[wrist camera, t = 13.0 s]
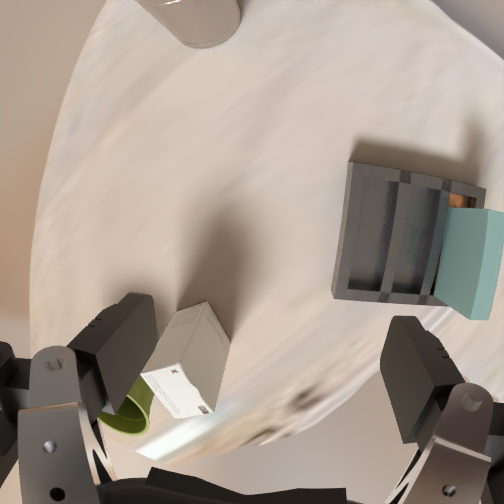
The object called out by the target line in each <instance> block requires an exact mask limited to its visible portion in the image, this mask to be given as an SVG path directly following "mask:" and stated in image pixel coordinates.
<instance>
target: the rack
mask: <svg viewBox="0 0 504 504" xmlns="http://www.w3.org/2000/svg"><path fill="white" fill-rule="evenodd" d="M485 194H486V189H484V188H480V187H476V186H473V185H469V184H464V183H460V182H456V181H452V180H447V179H443V178H438V177H434V176H429V175H424V174H419V173H414V172H409V171H404V170H398V169H393V168H387V167H381V166H375V165H368V164H362V163H355V162H348V169H347V179H346V189H345V198H344V206H343V214H342V222H341V229H340V236H339V243H338V250H337V256H336V263H335V269H334V275H333V281H332V287H331V291H332V294H333V298H334V299H342V300H354V301H367V302H381V303H396V304H412V305H430V306H448V305H447V304H445V303H444V302H442V301H441V300H439V299H438V298H436V297H435V296H434V291H435V286H436V280H437V275H438V269H439V263H440V257H441V250H442V243H443V235H444V230H445V224H446V219H447V213H448V207H451V208H477V209H483V207H484V201H485Z"/></svg>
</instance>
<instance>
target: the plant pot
mask: <svg viewBox="0 0 504 504" xmlns="http://www.w3.org/2000/svg"><path fill="white" fill-rule="evenodd" d="M153 396H154V392H153V391H152V389H151V388H150V387H149V386H148V384H147V383H146V382H145V380H144V379H143V378H142V376H141V375H139V376H138V378H137V380H136V381H135V383H134V385H133V386H132V388H131V389H130V391H129V393H128V394H127V396H126V398H125V399H124V401H123V403H122V404H121V406H120V408H119V409H118V411H117V413H116V414H115V415H113V414H109V413H106V412H103V411H101V413H100V414H99V416H98V419H99V421H101V422H102V423H103V424H105V425H106V426H108V427H109V428H111V429H113V430H115V431H117V432H120V433H123V434H126V435H141V434H144V433H145V432H147V430H148V429H149V424H150V423H149V414H150V406H151V403H152V399H153Z"/></svg>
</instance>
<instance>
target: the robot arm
mask: <svg viewBox="0 0 504 504" xmlns="http://www.w3.org/2000/svg"><path fill="white" fill-rule="evenodd" d="M135 1H136V2H138V3H139V4H140V5H141V6H142V7H143V8H145V9H146V10H147V11H148V12H149V13H150V14H151V15H152V16H154V17H155V18H156V19H157V20H158V21H159V22H160V23H161V24H162V25H163V26H165V27H166V28H167V29H168V30H169V31H170V32H171V33H172V34H173V35H174V36H175V37H176V38H177V39H178V40H179V41H181V42H182V43H183V44H185V45H187V46H189V47H193V48H210V47H213V46H217V45H219V44H221V43H223V42H225V41H226V40H227V39H229V38H230V37H231V36H232V35H233V34H234V33H235V31H236V30H237V28H238V26H239V24H240V20H241V13H240V9H239V6H238V4H237V1H236V0H135ZM156 344H157V328H156V319H155V311H154V302H153V298H152V296H151V295H147V294H140V293H133V292H130V293H128V294H127V295H126V296H125V297H124V298H123V299H122V300H121V301H120V302H119V303H118V304H114V305H112V306H110V307H108V308H106V309H104V310H102V311H101V312H100V313H99V314H98V315H97V316H96V317H95V320H94V319H93V320H92V321H91V322H90V323H89V324H88V326H86V327H85V328H84V329H83V330H82V331H81V332H80V333H79V334H78V335H77V336H76V337H75V338H74V339H73V340H72V341H71V342H70V343H69V344H68V345H67V346H66V347H65V346H51V347H47V348H44V349H42V350H40V351H39V352H37V353H36V354H35V355H34V357H33V358H32V359H24V358H16V357H15V355H14V352H13V350H12V347H11V346H10V344H8V343H6V342H1V341H0V409H1V410H0V488H1V486H2V484H3V483H4V481H5V479H6V478H7V476H8V474H9V473H10V471H11V469H12V468H13V466H14V464H15V463H16V461H17V460H19V475H20V486H21V494H22V502H23V504H362V503H359V502H354V501H351V500H347V498H346V488H330V489H329V488H326V489H304V488H297V489H292V490H286V491H279V492H272V493H264V494H255V495H244V494H240V493H237V492H234V491H231V490H228V489H226V488H223V487H220V486H218V485H215V484H212V483H210V482H207V481H205V480H203V479H200V478H197V477H193V476H188V475H183V474H179V473H175V472H170V471H166V470H162V469H158V468H154V467H152V468H151V470H150V472H149V475H148V477H147V478H128V479H120V480H118V479H117V476H116V474H115V472H114V470H113V467H112V464H111V461H110V458H109V454H108V451H107V448H106V444H105V440H104V437H103V433H102V429H101V425H100V422H99V419H98V416H99V414H100V413H101V411H103V412H106V413H109V414H113V415H115V414H116V413H117V411H118V409H119V408H120V406H121V404H122V403H123V401H124V399H125V398H126V396H127V394H128V393H129V391H130V389H131V388H132V386H133V385H134V383H135V381H136V380H137V378H138V376H139V375H140V373H141V372H142V370H143V368H144V367H145V365H146V364H147V362H148V360H149V359H150V357H151V355H152V354H153V352H154V350H155V348H156ZM444 349H445V348H444V347H443V345H442V343H441V342H440V340H439V339H438V338H437V337H435V336H434V335H433V334H432V333H430V332H429V331H425V329H424V328H423V326H422V325H421V323H420V322H419V320H418V319H417V317H416V316H394V317H393V318H392V320H391V323H390V326H389V330H388V333H387V337H386V340H385V344H384V347H383V350H382V353H381V358H380V370H381V374H382V377H383V379H384V382H385V386H386V389H387V392H388V395H389V398H390V401H391V404H392V408H393V410H394V414H395V417H396V421H397V424H398V427H399V431H400V434H401V438H402V441H403V444H406V443H415V442H417V444H418V449H417V450H416V452H415V453H414V455H413V457H412V459H411V460H410V462H409V464H408V466H407V468H406V469H405V471H404V473H403V475H402V476H401V478H400V480H399V482H398V483H397V484H396V486H395V488H394V490H393V491H392V492H391V494H390V495H389V497H388V498H387V500H386V501H385V502H384V504H479V501H480V499H481V503H482V504H504V403H497V402H494V401H493V398H492V396H491V395H490V393H489V392H488V391H487V390H486V389H484V388H483V387H481V386H479V385H477V384H473V383H466V382H465V380H464V379H463V377H462V375H461V374H460V372H459V370H458V369H457V367H456V365H455V364H454V362H453V361H452V359H451V358H449V357H450V356H449V354H448V353H447V351H446V350H444Z"/></svg>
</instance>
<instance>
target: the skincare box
mask: <svg viewBox="0 0 504 504" xmlns="http://www.w3.org/2000/svg"><path fill="white" fill-rule="evenodd" d="M230 345H231V343H230V341H229V339H228V337H227V335H226V334H225V332H224V330H223V328H222V326H221V325H220V323H219V321H218V319H217V317H216V315H215V314H214V312H213V310H212V309H211V307H210V305H209V303H208V301H206V302H203V303H200V304H197V305H195V306H192V307H188V308H185V309H182V310H179V311H177V312H175V313H174V315H173V317H172V318H171V320H170V322H169V323H168V325H167V327H166V329H165V330H164V332H163V334H162V336H161V337H160V339H159V341H158V343H157V344H156V348H155V350H154V352H153V354H152V355H151V357H150V359H149V360H148V362H147V364H146V365H145V367H144V368H143V370H142V372H141V373H140V375H141V376H142V378H143V379H144V380H145V382H146V383H147V384H148V386H149V387H150V388H151V389H152V391H153V392H154V393H155V395H156V396H157V397H158V398H159V400H160V401H161V402H162V403H163V405H164V406H165V407H166V408H167V409H168V411H169V412H170V413H171V414H172V416H173V417H174V418H175V419H179V418H185V417H191V416H197V415H202V414H207V413H212V412H214V411H215V406H216V402H217V398H218V394H219V390H220V386H221V382H222V378H223V373H224V369H225V365H226V361H227V357H228V353H229V349H230Z"/></svg>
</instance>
